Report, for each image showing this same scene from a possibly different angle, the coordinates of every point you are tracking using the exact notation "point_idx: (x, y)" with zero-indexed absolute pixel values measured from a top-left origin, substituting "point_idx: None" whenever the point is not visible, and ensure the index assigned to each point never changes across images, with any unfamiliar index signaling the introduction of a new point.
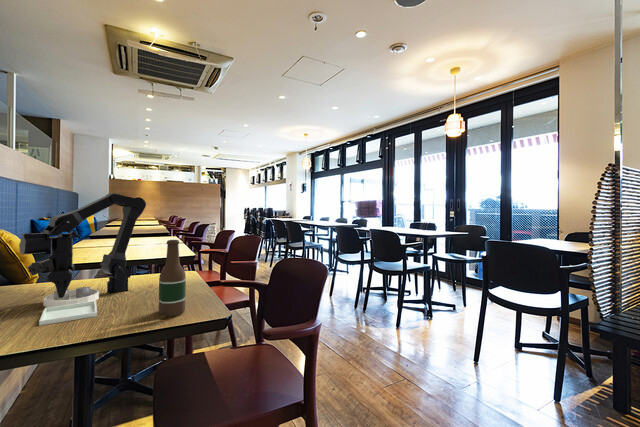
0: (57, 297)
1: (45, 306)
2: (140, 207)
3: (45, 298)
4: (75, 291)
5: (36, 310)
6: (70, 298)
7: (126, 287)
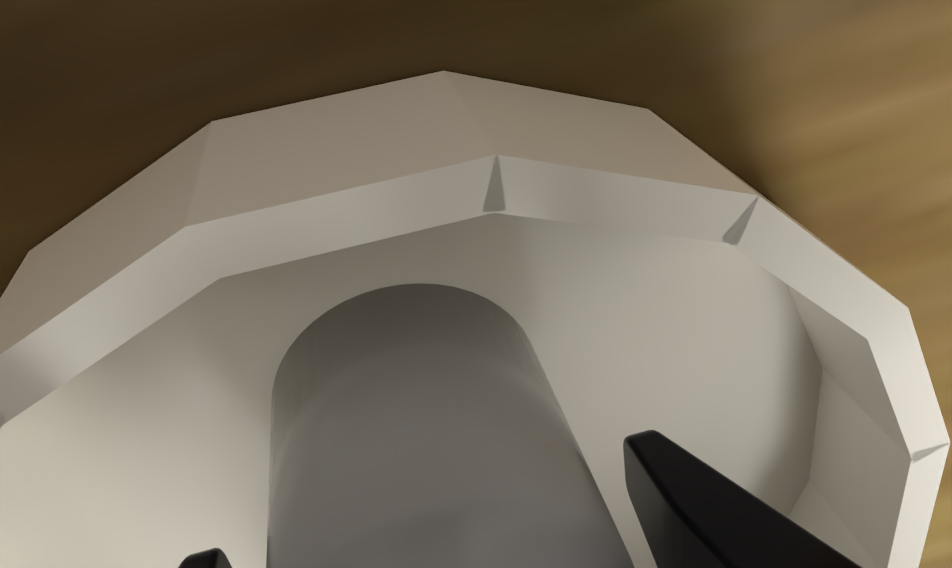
0: (275, 494)
1: (97, 219)
2: None
3: (260, 251)
4: (870, 518)
5: (5, 26)
6: None
7: None
